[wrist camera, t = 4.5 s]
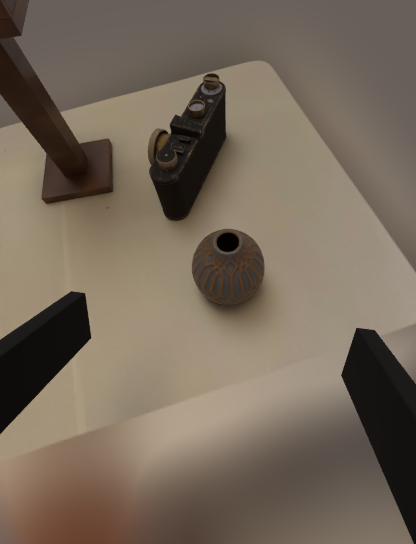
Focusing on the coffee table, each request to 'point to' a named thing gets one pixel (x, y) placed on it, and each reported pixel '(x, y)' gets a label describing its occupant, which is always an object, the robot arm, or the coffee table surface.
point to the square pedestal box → (48, 120)
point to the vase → (228, 267)
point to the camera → (188, 148)
